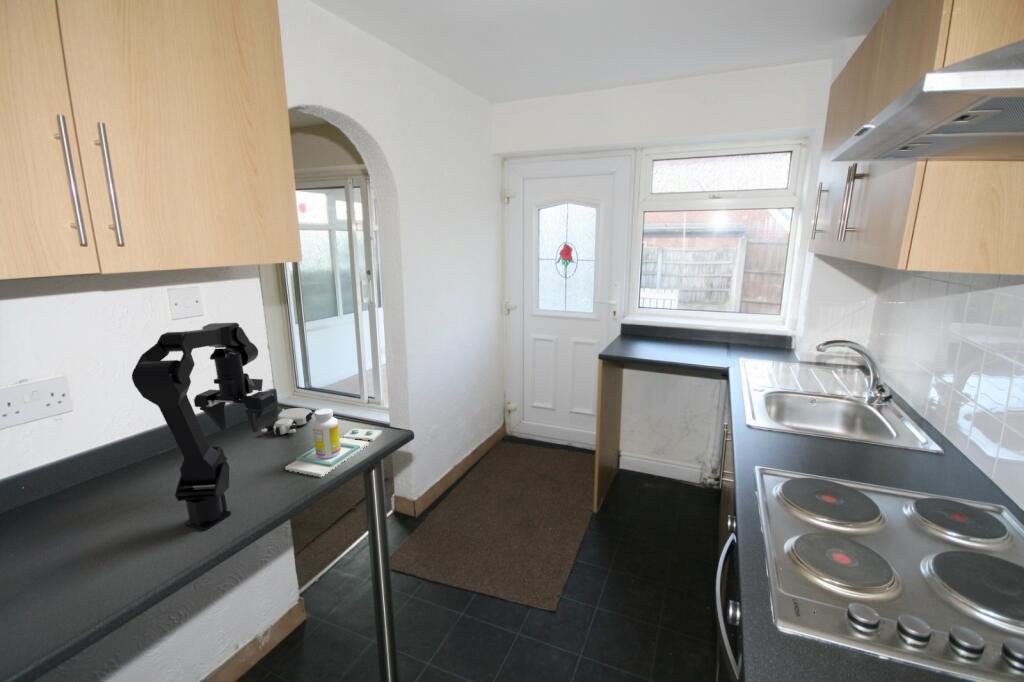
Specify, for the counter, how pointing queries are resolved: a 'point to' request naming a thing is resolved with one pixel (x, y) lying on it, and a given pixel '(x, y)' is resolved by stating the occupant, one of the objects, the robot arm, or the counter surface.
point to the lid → (363, 434)
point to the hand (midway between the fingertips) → (239, 431)
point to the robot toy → (290, 420)
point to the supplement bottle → (326, 434)
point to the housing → (322, 466)
